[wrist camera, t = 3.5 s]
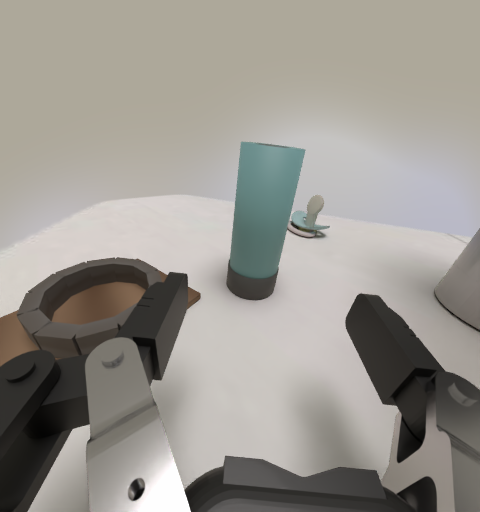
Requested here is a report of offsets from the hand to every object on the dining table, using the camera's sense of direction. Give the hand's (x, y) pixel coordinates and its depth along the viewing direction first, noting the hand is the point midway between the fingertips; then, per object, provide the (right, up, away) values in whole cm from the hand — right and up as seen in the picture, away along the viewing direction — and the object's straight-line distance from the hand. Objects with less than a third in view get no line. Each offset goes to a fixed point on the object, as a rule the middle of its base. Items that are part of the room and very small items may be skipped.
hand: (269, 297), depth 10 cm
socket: (-12, -3, +7) cm, 14 cm away
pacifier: (+10, +6, +27) cm, 30 cm away
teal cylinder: (0, -1, +12) cm, 12 cm away
